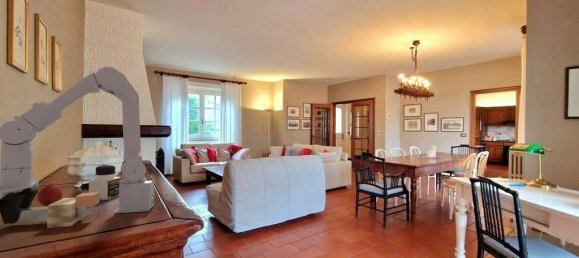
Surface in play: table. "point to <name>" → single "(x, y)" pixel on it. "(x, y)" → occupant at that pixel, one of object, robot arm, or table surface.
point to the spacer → (87, 200)
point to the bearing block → (62, 213)
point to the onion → (49, 194)
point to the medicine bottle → (105, 182)
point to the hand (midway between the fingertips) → (15, 220)
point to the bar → (42, 214)
